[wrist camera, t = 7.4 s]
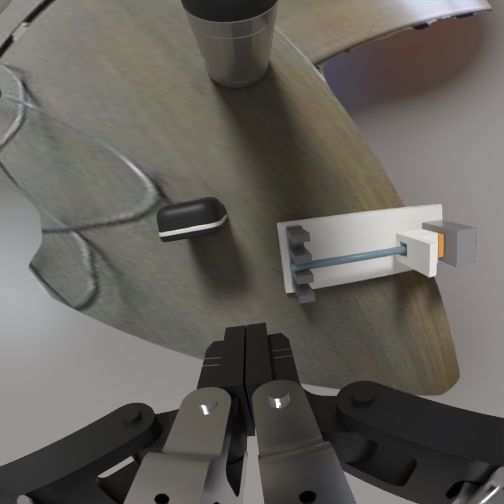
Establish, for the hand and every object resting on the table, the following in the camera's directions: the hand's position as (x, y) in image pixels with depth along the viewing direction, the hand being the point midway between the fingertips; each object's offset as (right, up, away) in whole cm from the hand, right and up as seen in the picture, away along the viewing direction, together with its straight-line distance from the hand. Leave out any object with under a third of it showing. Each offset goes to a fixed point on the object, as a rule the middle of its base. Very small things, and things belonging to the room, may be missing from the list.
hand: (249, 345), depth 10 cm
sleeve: (+23, +5, +25) cm, 34 cm away
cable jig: (+18, +5, +29) cm, 34 cm away
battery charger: (-7, +9, +28) cm, 30 cm away
